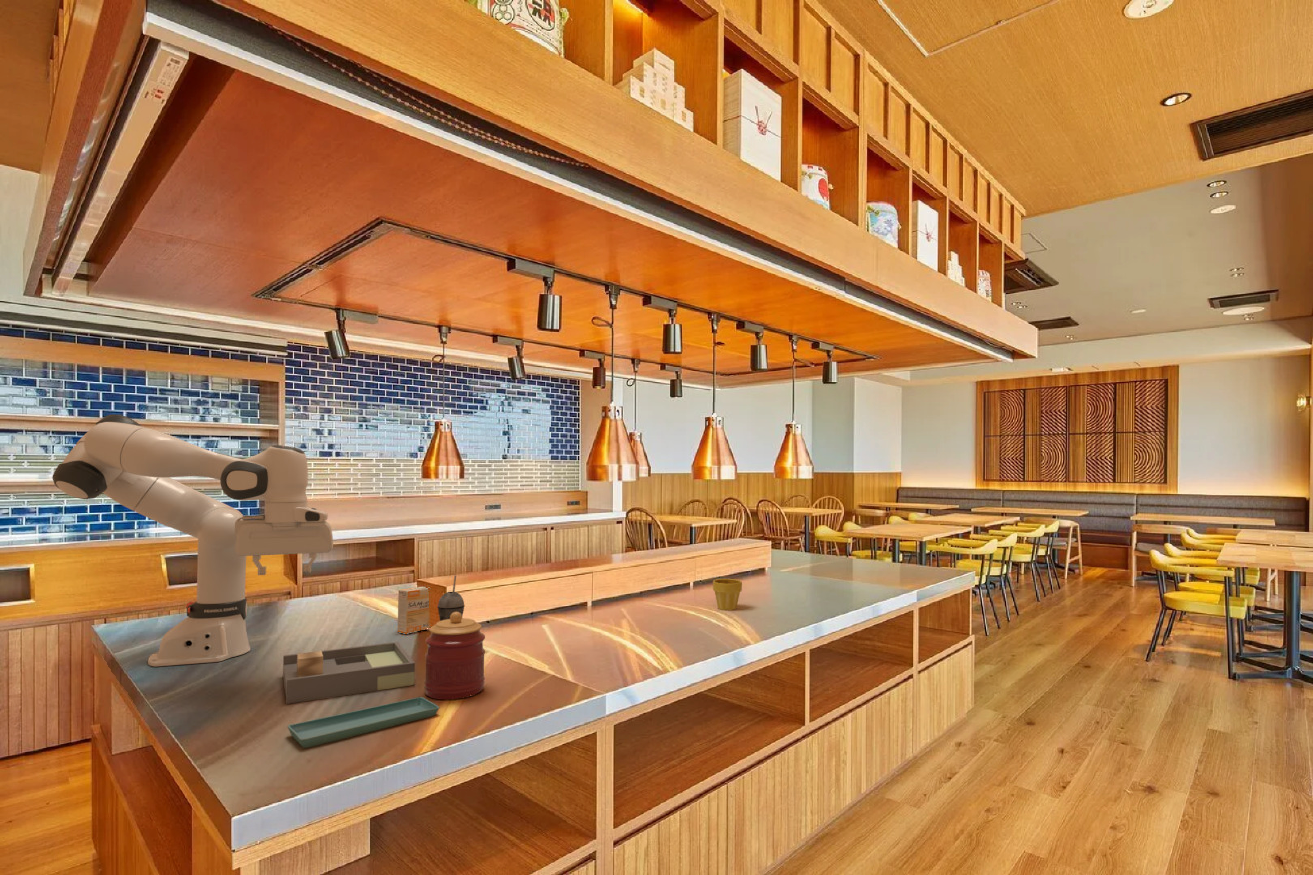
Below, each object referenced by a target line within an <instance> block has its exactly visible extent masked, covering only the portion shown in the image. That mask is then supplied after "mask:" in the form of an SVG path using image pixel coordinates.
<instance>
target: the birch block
mask: <svg viewBox="0 0 1313 875" xmlns="http://www.w3.org/2000/svg"><path fill="white" fill-rule="evenodd" d="M317 651H318V652H316V651H309V653H308V652H302V653H301V652H300V653H301V654H299V653H296V654H297V674H298V677H304V676H311V675H319V674H323V654H322V651H323V650H317Z"/></svg>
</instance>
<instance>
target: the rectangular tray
mask: <svg viewBox="0 0 1313 875" xmlns="http://www.w3.org/2000/svg"><path fill="white" fill-rule="evenodd" d="M439 710H440V706H439V705H437V704H435V702H432V701H430V700H428V699H427V698H425V697H422V696H420V697H419V696H418V697H414V698H409V699H405V700H401V701H400V700H399V701H396V702H391V703H390V702H389V703H386V704H381V705H377V706H371V707H367V708H362V709H358V710H353V711H348V712H344V713H339V714H335V715H330V716H324V717H319V718H316V719H311V720H306V721H301V722H297V723H291V724H289V725H287V726H286V727H287V730H288V731H289V733H290V735H291V737H292V738H293V739H294V740H295V741H296V742H297V743H299V745H300V746H301V747H302V748H303V749H307V748H311V747H314V746H319V745H323V744H326V743H332V742H336V741H340V740H342V739H343V740H344V739H347V738H351V737H355V736H360V735H363V734H367V733H370V732H375V731H378V730H383V729H388V728H391V727H395V726H399V725H403V724H407V723H410V722H415V721H418V720H423V719H427V718H430V717H434V716H436V714H437V713H438V711H439Z"/></svg>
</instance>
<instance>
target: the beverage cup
mask: <svg viewBox="0 0 1313 875" xmlns="http://www.w3.org/2000/svg"><path fill="white" fill-rule="evenodd" d="M456 581H457V575H456V574H454V577H453V585H452V591H447V592H445V593H444V594H443V595H441V596H440V598H439V600H438V603H437V611H438V615H439V621H442V620H447V619H450V616H451V614H452V613H453V612H459V613H461V615H462V616H463V614H464V611H465V601H464V599H463V597H462V595H461V594H460V593H459V592H457V591H455V589H456V583H457V582H456Z"/></svg>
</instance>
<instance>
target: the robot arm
mask: <svg viewBox="0 0 1313 875" xmlns="http://www.w3.org/2000/svg"><path fill="white" fill-rule="evenodd" d="M181 477H183V478H184V477H185V478H186V477H201V478H202V477H203V478H209V479H214V480H219V482H220V488H221V489H222V492H223V493H224V494H225V495H226V496H227V497H228V498H230V499H232V500H237V501H243V502H244V501H257V500H264V514H255V515H247V514H246V515H244V514H242V512H241V511H239V510H238V509H236V508H234V507H232V506H230V505H228V504H226V503H224V502H222V501H220V500H218V499H215V498H214V497H211V496H209V495H207V494H205V493H203V492H200V491H198V490H196V489H194V488H192V487H190V486H188V485H186V484H183V483H182V482H179V481H178V480H176V479H173V478H181ZM308 477H309V472H308V460H307V456H306V453H305V452H304V451H303V450H302V449H300V448H298V447H294V446H288V445H281V444H275V445H270V446H268V447H267V449H265V450H263V451H261V452H259V453H258V454H255V455H252V456H250V457H247V458H241V457H240V458H239V457H236V456H232V455H228V454H223V453H220V452H216V451H212V450H209V449H206V448H203V447H202V446H201V447H200V446H199V445H195V444H192V443H190V442H187V441H185V440H183V439H180V438H178V437H175V436H174V435H173V436H172V435H170V434H167V433H165V432H162V431H159V430H156V429H153V428H150V427H146V426H142V425H141V424H139V422H137V421H135V420H134V419H132V418H130V417H128V416H126V415H122V414H116V413H115V414H113V413H112V414H108V415H106V416H104V417H102V418H101V419H99V420H98V421H97V422H96V423H95V425H94V426H92V427H91V428H90V429H89V430H88V431H87V432H86V433H85V434H84V435H83V436H81V438H80V439H79V440H78V441H77V442H76V443H75V445H74V446H73V448H71V450H70V451H69V453H68V454H67V456H65V458H64V459H63V460H62V463H59V464H58V465H57V467H56V469H54V472H53V474H52V477H51V478H52V481H53V483H54V486H56V488H58V489H59V490H60V491H62V492H63V493H65V494H66V495H68V496H71V497H73V498H77V499H80V500H92V499H96V498H98V497H99V496H100V495H102V493H103V494H104V495H105V496H107V497H108V498H110V499H112V500H113V501H114V502H116V503H118V504H119V505H121V506H123V507H125V508H127V509H129V510H131V511H132V512H135V513H138V514H139V515H142V516H143V517H146V518H148V519H150V520H152V521H154V522H156V523H159V524H161V525H163V526H165V527H168V528H171V529H173V530H177V531H178V532H180V533H184V534H186V535H188V536H192V537H193V538H195V539H197V568H196V569H197V575H196V576H197V577H196V579H197V580H196V601H189V602H187V604H186V605H185V608H186V618H185V619H183V620H182V621H180V622H178V624H176V625H175V626H174V627H172V628H171V629H169V630H168V631H166V633H165V634H164V635H163V636H162V639H161V640H160V643H159V648H158V651H155V652H154V653H152V654H150V656H149V657H148V661H147V664H148V666H151V667H165V666H167V667H168V666H179V665H191V664H193V665H194V664H204V663H205V664H206V663H217V662H222V661H225V660H227V659H230V658H234V657H237V656H241V655H244V654H247V653H248V652H250V651H251V646H250V642H249V638H248V634H247V633H248V632H247V627H246V625H247V624H246V619H247V615H248V602H247V600H248V599H247V598H246V578H247V577H246V575H247V574H246V573H247V572H246V571H247V557H249V556H250V557H251V556H252V562H253V563H254V565H255V567H256V568H257V576H265V575H267V571H266V570H267V566H263V565H262V563H261V561H260V560H261V559H262V556H275V555H276V556H278V555H300V554H301V555H302V554H308V558H309V562H308V564H303V573H304V574H307V573H309V574H310V573H311V572H312V564H313V563H314V562H315V560H316V558H317V554H323V553H324V554H326V553H327V554H328V553H330V552H331V551H332V550H333V548H334V538H333V530H332V526H331V525H330V523H329V522H328V521H327V520H328V517H329V515H328V512H327V511H326V510H321V509H317V508H314V507H309V506H308V498H307V492H306V490H307V487H308V483H309V482H308V481H309V478H308Z"/></svg>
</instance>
